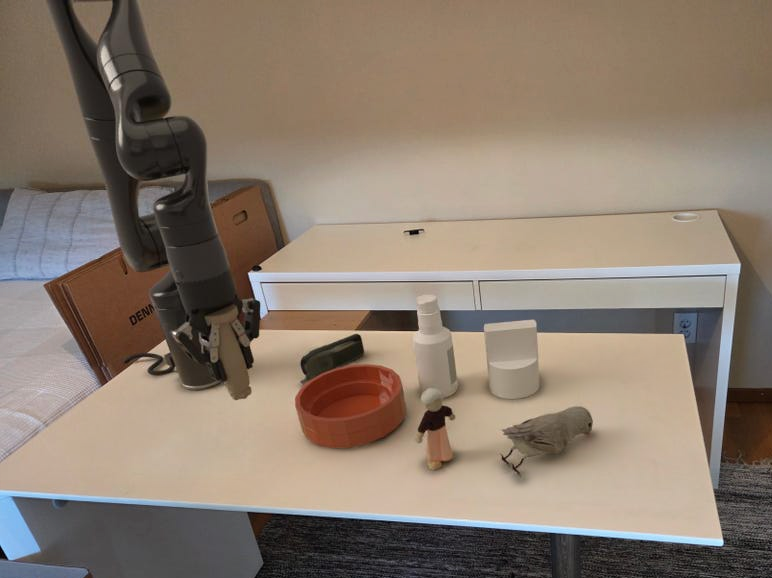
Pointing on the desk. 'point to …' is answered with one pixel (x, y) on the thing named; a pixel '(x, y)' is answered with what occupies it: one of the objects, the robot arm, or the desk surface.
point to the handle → (231, 353)
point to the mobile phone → (331, 356)
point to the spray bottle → (434, 349)
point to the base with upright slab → (512, 358)
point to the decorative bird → (548, 433)
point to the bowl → (351, 405)
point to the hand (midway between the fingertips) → (234, 373)
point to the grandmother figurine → (435, 428)
